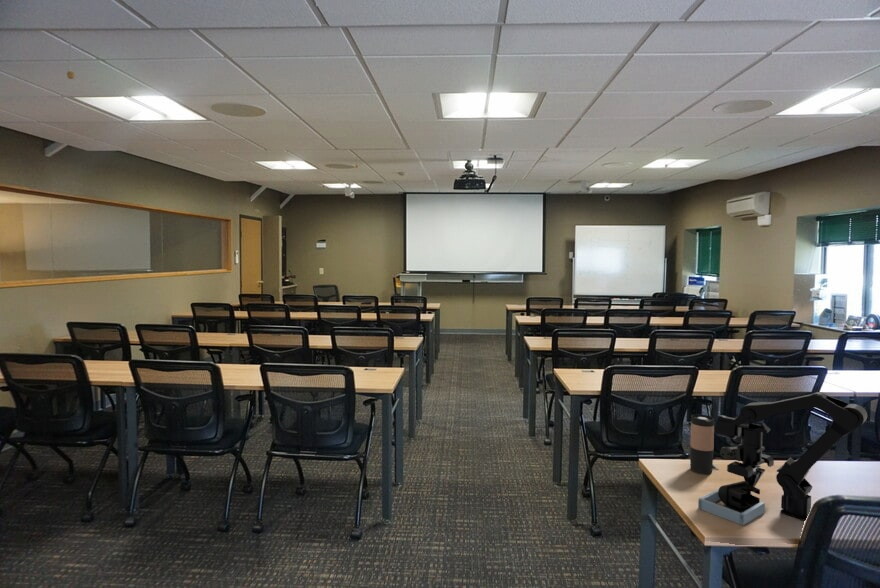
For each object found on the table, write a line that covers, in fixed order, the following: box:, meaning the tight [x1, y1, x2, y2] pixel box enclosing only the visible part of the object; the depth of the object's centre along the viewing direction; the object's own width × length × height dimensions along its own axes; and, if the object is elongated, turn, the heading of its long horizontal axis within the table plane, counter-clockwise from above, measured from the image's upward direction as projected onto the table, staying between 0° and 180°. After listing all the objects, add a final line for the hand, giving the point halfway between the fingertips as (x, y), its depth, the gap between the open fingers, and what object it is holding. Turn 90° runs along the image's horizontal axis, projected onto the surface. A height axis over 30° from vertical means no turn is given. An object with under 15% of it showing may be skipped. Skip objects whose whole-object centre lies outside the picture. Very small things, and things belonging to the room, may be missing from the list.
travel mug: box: [689, 413, 715, 475], centre depth 185 cm, size 8×8×20 cm
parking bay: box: [697, 488, 766, 526], centre depth 154 cm, size 13×14×3 cm
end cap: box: [718, 480, 761, 513], centre depth 157 cm, size 10×7×7 cm
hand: (749, 490), depth 162 cm, fingers closed
